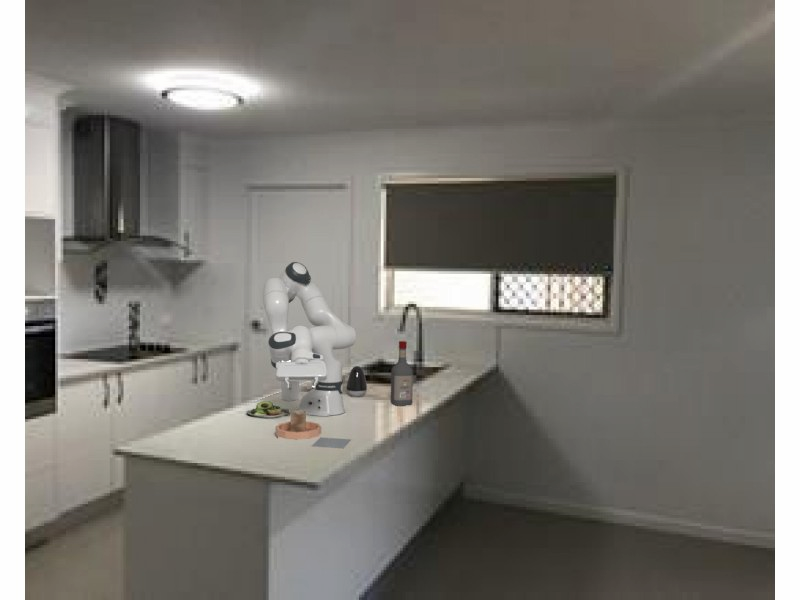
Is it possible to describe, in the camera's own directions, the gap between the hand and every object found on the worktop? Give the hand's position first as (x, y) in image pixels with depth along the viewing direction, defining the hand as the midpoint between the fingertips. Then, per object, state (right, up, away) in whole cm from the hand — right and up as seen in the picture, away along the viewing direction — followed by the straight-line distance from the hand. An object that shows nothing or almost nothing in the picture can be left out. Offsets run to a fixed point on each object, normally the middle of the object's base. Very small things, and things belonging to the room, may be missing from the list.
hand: (301, 388), depth 261 cm
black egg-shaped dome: (+17, -13, +70) cm, 73 cm away
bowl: (0, -18, -5) cm, 18 cm away
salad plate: (-19, -16, +29) cm, 38 cm away
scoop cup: (-1, -17, -6) cm, 17 cm away
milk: (-14, -13, +59) cm, 62 cm away
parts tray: (+14, -19, -18) cm, 29 cm away
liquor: (+40, -15, +54) cm, 69 cm away
